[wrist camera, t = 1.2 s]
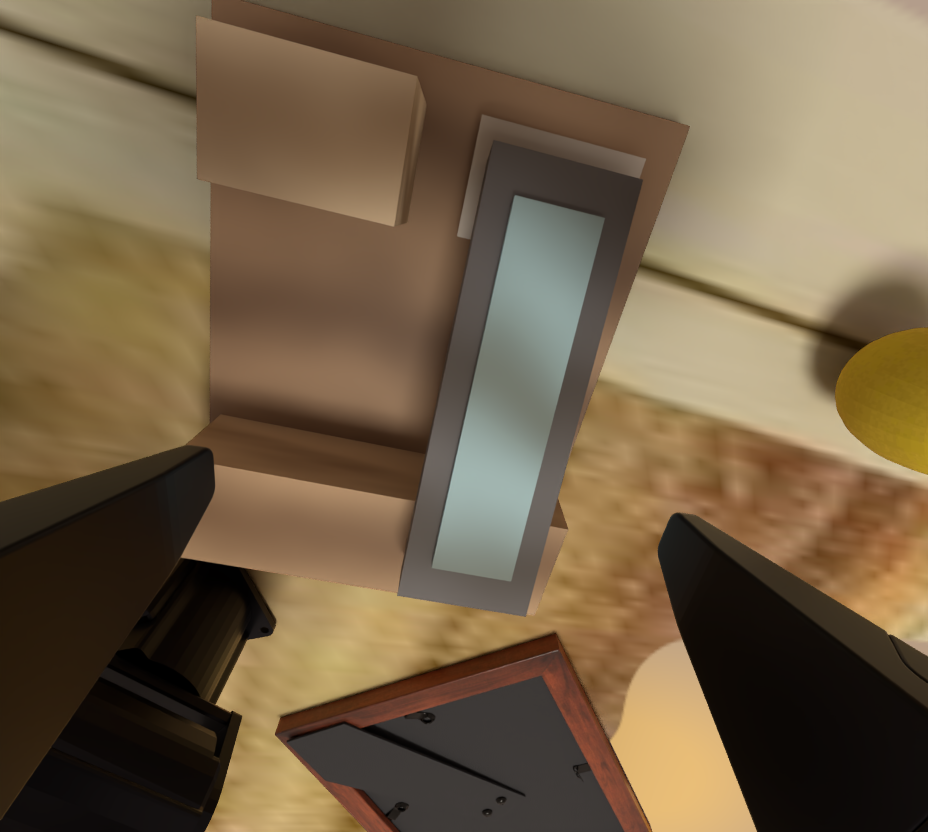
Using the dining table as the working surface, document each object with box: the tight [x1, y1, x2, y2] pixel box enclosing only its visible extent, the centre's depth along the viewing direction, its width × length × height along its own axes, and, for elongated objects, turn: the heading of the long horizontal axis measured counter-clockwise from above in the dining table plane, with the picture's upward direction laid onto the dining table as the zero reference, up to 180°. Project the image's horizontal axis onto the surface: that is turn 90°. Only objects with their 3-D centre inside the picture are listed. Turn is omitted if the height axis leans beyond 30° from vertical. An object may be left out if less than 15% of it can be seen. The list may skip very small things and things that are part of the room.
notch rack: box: [181, 0, 690, 616], centre depth 19 cm, size 21×17×5 cm
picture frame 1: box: [397, 140, 643, 617], centre depth 17 cm, size 16×5×2 cm, turn 167°
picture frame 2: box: [275, 634, 652, 832], centre depth 35 cm, size 20×2×25 cm
